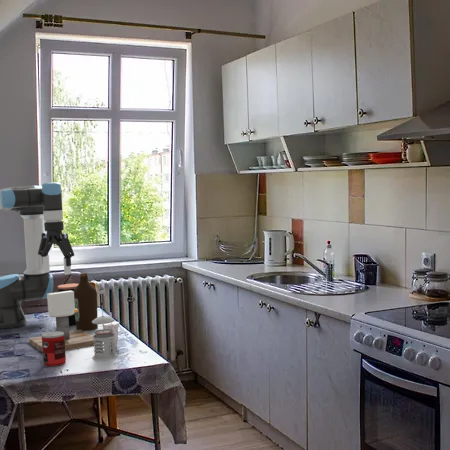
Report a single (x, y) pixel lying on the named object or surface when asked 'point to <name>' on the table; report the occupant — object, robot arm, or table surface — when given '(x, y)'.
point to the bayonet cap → (61, 304)
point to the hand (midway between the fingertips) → (57, 273)
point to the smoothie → (113, 329)
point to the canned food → (53, 348)
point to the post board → (72, 338)
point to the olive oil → (85, 304)
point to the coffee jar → (69, 288)
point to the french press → (104, 339)
